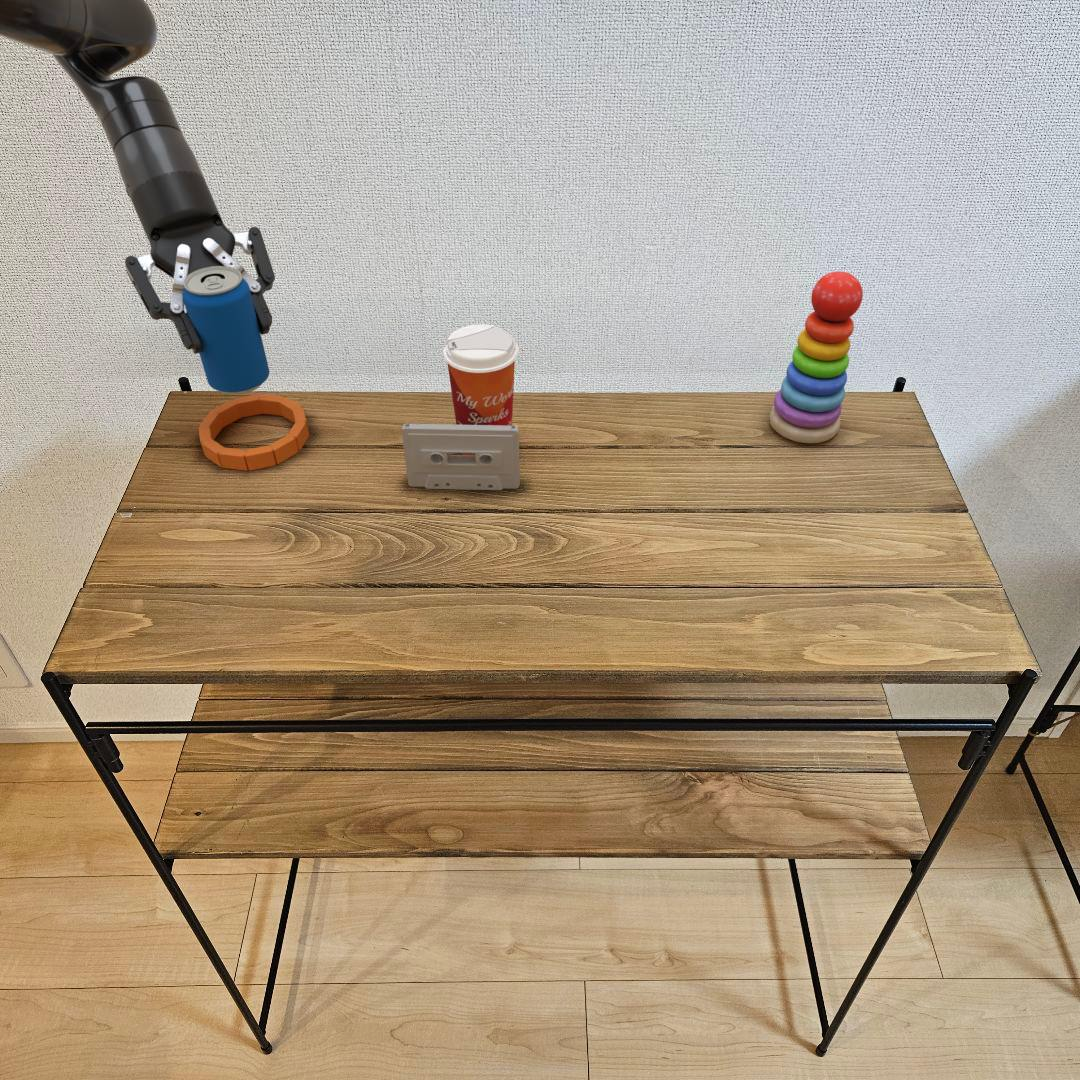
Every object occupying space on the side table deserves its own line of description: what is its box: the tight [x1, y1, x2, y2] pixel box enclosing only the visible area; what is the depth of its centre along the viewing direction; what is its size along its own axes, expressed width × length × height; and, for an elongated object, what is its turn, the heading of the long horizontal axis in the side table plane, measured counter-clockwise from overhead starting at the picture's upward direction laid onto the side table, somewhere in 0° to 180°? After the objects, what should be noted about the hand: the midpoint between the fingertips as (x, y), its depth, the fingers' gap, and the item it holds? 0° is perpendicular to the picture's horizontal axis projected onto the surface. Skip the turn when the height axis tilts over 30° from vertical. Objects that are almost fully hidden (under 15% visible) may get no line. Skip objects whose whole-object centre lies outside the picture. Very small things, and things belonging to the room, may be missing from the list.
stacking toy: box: [769, 270, 864, 444], centre depth 97 cm, size 8×8×19 cm
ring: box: [197, 393, 310, 472], centre depth 100 cm, size 12×12×2 cm
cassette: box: [401, 423, 521, 491], centre depth 93 cm, size 12×2×8 cm, turn 88°
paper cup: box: [442, 323, 520, 455], centre depth 95 cm, size 8×8×14 cm
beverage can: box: [182, 266, 270, 396], centre depth 92 cm, size 6×6×12 cm
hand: (232, 340), depth 91 cm, fingers closed on beverage can, 6 cm apart
